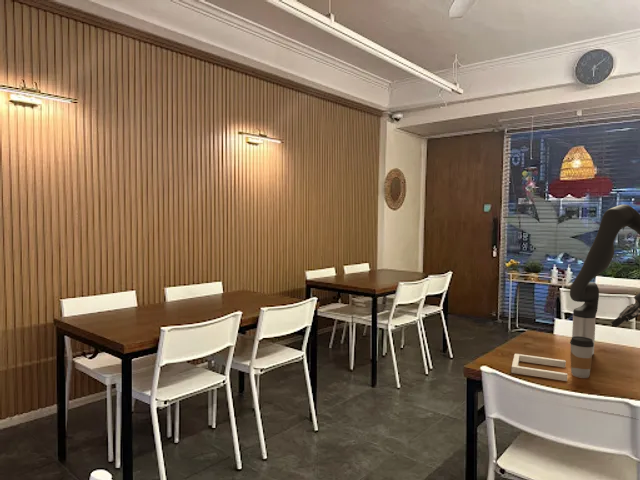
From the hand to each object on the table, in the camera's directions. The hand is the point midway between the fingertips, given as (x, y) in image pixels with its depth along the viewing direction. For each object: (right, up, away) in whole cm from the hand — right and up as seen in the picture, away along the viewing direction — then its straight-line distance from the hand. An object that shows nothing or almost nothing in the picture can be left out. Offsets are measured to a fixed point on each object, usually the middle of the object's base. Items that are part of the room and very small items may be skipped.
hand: (613, 325), depth 182 cm
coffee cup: (-11, -21, +3) cm, 24 cm away
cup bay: (-26, -20, +10) cm, 34 cm away
